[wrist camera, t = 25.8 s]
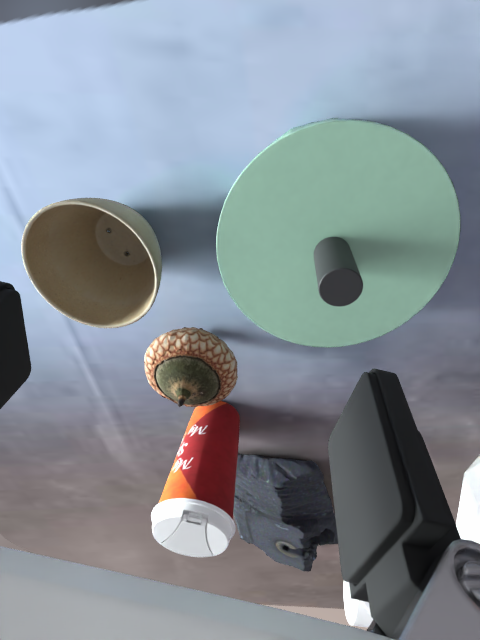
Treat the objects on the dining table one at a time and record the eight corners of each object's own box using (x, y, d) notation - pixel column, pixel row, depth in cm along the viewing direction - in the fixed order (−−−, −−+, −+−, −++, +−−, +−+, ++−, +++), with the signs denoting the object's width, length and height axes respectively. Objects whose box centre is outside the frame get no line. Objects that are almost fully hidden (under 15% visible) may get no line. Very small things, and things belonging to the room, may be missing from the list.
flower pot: (98, 293, 36) (59, 334, 30) (51, 189, 31) (-6, 214, 25) (194, 280, 34) (174, 322, 28) (162, 167, 29) (129, 189, 23)
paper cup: (189, 386, 41) (149, 505, 29) (255, 401, 41) (241, 526, 30) (181, 430, 45) (144, 550, 34) (241, 444, 46) (224, 568, 34)
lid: (190, 154, 23) (162, 173, 18) (463, 85, 19) (525, 84, 14) (245, 350, 31) (237, 402, 26) (447, 325, 27) (483, 380, 22)
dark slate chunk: (336, 446, 44) (341, 482, 40) (340, 542, 55) (344, 577, 51) (213, 447, 47) (206, 481, 43) (241, 538, 58) (237, 572, 54)
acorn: (155, 300, 35) (113, 365, 27) (238, 294, 34) (221, 361, 26) (174, 365, 40) (144, 440, 31) (249, 362, 38) (238, 439, 30)
